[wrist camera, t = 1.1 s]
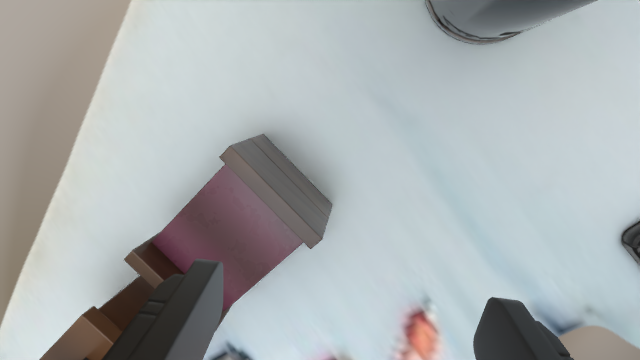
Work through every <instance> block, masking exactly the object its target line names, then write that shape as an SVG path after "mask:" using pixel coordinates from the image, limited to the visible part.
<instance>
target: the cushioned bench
mask: <svg viewBox="0 0 640 360" xmlns="http://www.w3.org/2000/svg"><path fill="white" fill-rule="evenodd" d="M219 158H220V159H221V160H222V161H223V162H224V163H225V165H224V166H223V167H222V168H221V169H220V170H219V171H218V172H217V173H216V174H215V175H214V177H213V178H212V179H211V180H210V181H209V182H208V183H207V184H206V185H205V186H204V187H203V188H202V189H201V190H200V191H199V192H198V193H197V194H196V195H195V197H194V198H193V199H192V200H191V201H190V202H189V203H188V204H187V205H186V206H185V207H184V208H183V209H182V210H181V211H180V212H179V213H178V214H177V216H176V217H175V218H174V219H173V220H172V221H171V222H170V223H169V224H168V225H167V226H166V227H165V228H164V229H163V230H162V231H161V232H159V233H158V234H156V235H155V236H153V237H152V238H150V239H149V240H147V241H146V242H144V243H143V244H141V245H140V246H138V247H137V248H135V249H134V250H132V251H131V252H130V253H129V254H128V256H127V257H126V258H125V259H124V260H125V261H126V262H127V263H128V264H129V265H130V266H131V267H132V268H133V269H134V270H135V271H136V272H137V273H139V274H140V275H141V276H142V277H143V278H144V279H145V280H146V281H147V282H148V283H149V284H150V285H151V286H152V287H154V288H155V289H156V287H157V286H158V285H159V284H160V283H162V282H163V281H165V280H166V279H167V278H169V277H170V276H172V275H173V274H182V275H185V273H186V272H187V270H188V269H189V268H190V266H191V265H192V263H193V262H194V260H195V259H206V260H213V261H221V262H222V263H223V308H222V313H221V317H220V320H219V323H218V325H217V328H218V326H219V325H220V323H221V322H222V320H223V319H224V317H225V315H226V314H227V312H228V311H229V309H230V308H231V306H232V304H233V303H234V302H236V301H237V300H238V299H239V298H240V297H241V296H242V295H244V294H245V293H246V292H247V291H248V290H249V289H250V288H252V287H253V286H254V285H255V284H256V283H257V282H259V281H260V280H261V279H262V278H263V277H264V276H265V275H267V274H268V273H269V272H270V271H271V270H272V269H273V268H275V267H276V266H277V265H278V264H279V263H280V262H281V261H283V260H284V259H285V258H286V257H287V256H288V255H289V254H291V253H292V252H293V251H294V250H295V249H296V248H298V247H299V246H300V245H301V244H302V243H303V242H304V243H305V244H306V245H307V246H308V247H309V248H310V249H311V248H313V247H314V246H315V245H316V244H317V243H318V242H320V241H321V240H322V238H323V235H324V232H325V229H326V225H327V222H328V218H329V215H330V212H331V208H332V204H331V203H330V202H329V201H328V200H327V199H326V198H325V197H324V196H323V195H322V194H321V193H320V192H319V191H318V190H317V189H316V188H315V187H314V186H313V185H312V184H311V183H310V182H309V181H308V180H307V179H306V177H305V176H304V175H303V174H302V173H301V172H300V171H299V170H298V169H297V168H296V167H295V166H294V165H293V164H292V163H291V162H290V161H289V160H288V159H287V158H286V157H285V156H284V155H283V154H282V153H281V152H280V151H279V150H278V149H277V148H276V147H275V146H274V145H273V144H272V143H271V142H270V140H269V139H268V138H267V137H266V136H265V135H264V134H261V135H259V136H256V137H253V138H251V139H247V140H245V141H242V142H239V143H237V144H234V145H231V146H229V147H228V149H227V150H226V151H225V152H224V153H223V154H222V155H221V156H220V157H219ZM217 328H216V330H217ZM216 330H215V331H216Z"/></svg>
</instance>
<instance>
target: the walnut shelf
mask: <svg viewBox="0 0 640 360" xmlns="http://www.w3.org/2000/svg"><path fill="white" fill-rule="evenodd" d="M154 290H155V288H154V287H152V286H151V285H150V284H149V283H148V282H147V281H146V280H145V279H144V278H143V277H142V276H141V275H140V276H139V277H138V278H137V279H135V280H134V281H133V282H132V283H130V284H129V285H128V286H127V287H125V288H124V289H123V290H122V291H120V292H119V293H118V294H117V295H115V296H114V297H113V298H112V299H110V300H109V301H108V302H107V303H105V304H104V305H103V306H101V307H100V308H99V309H97V308H96V307H95V306H93V307H91V308H90V309H89V310H88V311H86V312H85V313H84V314H82V315H81V316H80V317H79V318H78V319H77V321H76V322H75V323H74V324H73V325H72V326H71V327H70V328H69V329H68V330H67V331H66V332H65V333H64V334H63V335H62V336H61V337H60V338H59V339H58V341H57V342H56V343H55V344H54V345H53V346H52V347H51V348H50V349H49V350H48V351H47V352H46V353H45V354H44V355H43V356H42V357H41V358H40V360H83V359H84V358H85V357H86V358H88V359H89V360H102V358H103V357H104V356H105V354H106V353H107V352H108V350H109V349H110V348H111V346H112V345H113V344H114V343H115V341H116V340H117V339H118V337H119V336H120V335H121V333H122V332H123V331H124V329H125V328H126V327H127V325H128V324H129V323H130V322H131V320H132V319H133V318H134V316H135V315H136V314H137V313H139V310H140V308H141V307H142V306H143V304H144V303H145V302H146V301H148V298H149V297H150V295H151V294H152V293H153V291H154Z"/></svg>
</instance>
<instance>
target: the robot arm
mask: <svg viewBox="0 0 640 360" xmlns="http://www.w3.org/2000/svg"><path fill="white" fill-rule="evenodd" d="M595 1H597V0H425V2H426V5H427V8H428V11H429V13H430V15H431V16H432V18H433V20H434V21H435V22H436V24H437V25H438V26H439V27H440V28H441V29H442V30H443V31H444V32H446V33H447V34H448V35H450V36H452V37H453V38H455V39H458V40H460V41H463V42H467V43H472V44H490V43H495V42H499V41H502V40H505V39H508V38H510V37H513V36H515V35H517V34H520V32H522V31H524V30H526V29H529V28H532V27H534V26H537V25H539V24H541V23H544V22H546V21H549V20H551V19H554V18H556V17H558V16H561V15H563V14H566V13H568V12H571V11H573V10H576V9H578V8H580V7H583V6H585V5H588V4H590V3H593V2H595ZM544 24H545V23H544ZM539 26H540V25H539ZM534 28H535V27H534ZM529 30H530V29H529ZM524 32H525V31H524ZM222 308H223V263H222V262H221V261H213V260H206V259H195V260H194V262H193V263H192V265H191V266H190V268H189V269H188V270H187V272H186V273H185V275H182V274H173V275H172V276H170V277H169V278H167V279H166V280H165V281H163V282H162V283H160V284H159V285H158V286H157V287H156V289H155V290H154V291H153V293H152V294H151V295H150V297H149V298H148V301H146V302H145V303H144V304H143V306H142V307H141V308H140V310H139V313H137V314H136V315H135V316H134V318H133V319H132V320H131V322H130V323H129V324H128V325H127V327H126V328H125V329H124V331H123V332H122V333H121V335H120V336H119V337H118V339H117V340H116V341H115V343H114V344H113V345H112V346H111V348H110V349H109V350H108V352H107V353H106V354H105V356H104V357H103V358H102V360H203V357H204V355H205V353H206V351H207V348H208V346H209V344H210V341H211V339H212V337H213V335H214V332H215V330H216V328H217V325H218V323H219V320H220V317H221V313H222ZM473 346H474V353H475V357H476V360H574V359H573V358H571V357H570V354H569V352H568V351H567V350H566V348H565V347H564V345H563V344H562V343H561V341H560V340H559V339H558V337H557V336H555V335H554V334H553V333H552V332H551V331H550V330H548V329H547V328H546V327H545V326H544V325H543V324H541V323H540V322H539V321H535V320H534V318H533V317H532V316H531V314H530V313H529V311H528V310H527V309H526V307H525V306H524V304H523V303H522V302H520V301H518V300H510V299H502V298H495V297H492V298H490V299H489V300H488V302H487V304H486V306H485V309H484V312H483V314H482V317H481V319H480V322H479V325H478V327H477V330H476V332H475V335H474V341H473Z"/></svg>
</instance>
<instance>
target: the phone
mask: <svg viewBox="0 0 640 360" xmlns="http://www.w3.org/2000/svg"><path fill="white" fill-rule="evenodd" d="M622 243H623V245H624V247H625V248H626V249H627V251H628V252H629V253H630V254H631V255H632V256H633V258H634V259H635V260H636V261H637V262H638V263H639V265H640V222H639V223H638V224H636V225H635V226H633V227H632V228H630V229H629V230H627V231H626V232H625V234H624V235H623V238H622Z"/></svg>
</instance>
